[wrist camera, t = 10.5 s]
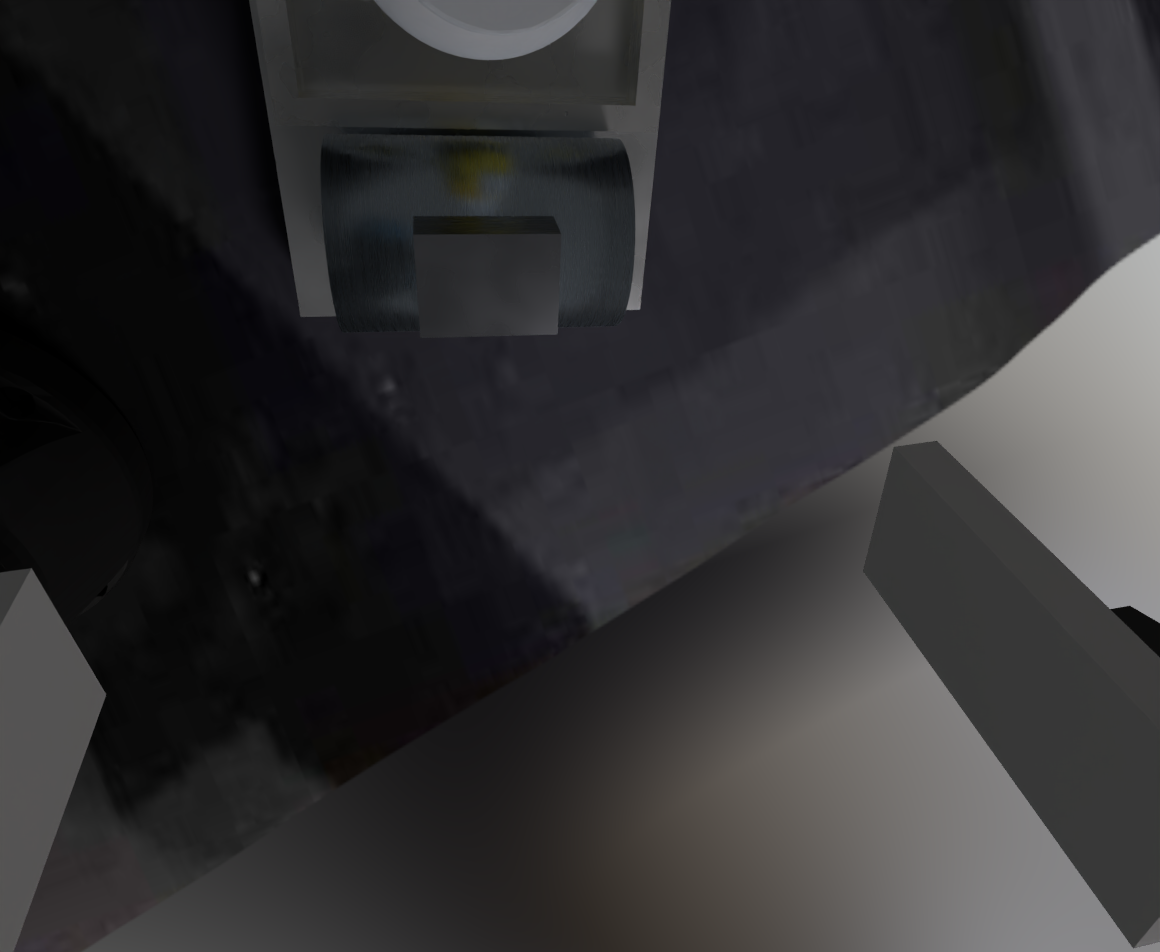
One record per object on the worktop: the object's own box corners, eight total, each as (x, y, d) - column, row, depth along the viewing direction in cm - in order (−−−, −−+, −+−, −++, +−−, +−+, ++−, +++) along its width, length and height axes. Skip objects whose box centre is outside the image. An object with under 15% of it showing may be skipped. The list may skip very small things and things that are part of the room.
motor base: (204, -400, 21) (64, -608, 13) (677, -343, 23) (826, -487, 15) (309, 286, 32) (272, 419, 23) (623, 281, 34) (692, 401, 26)
